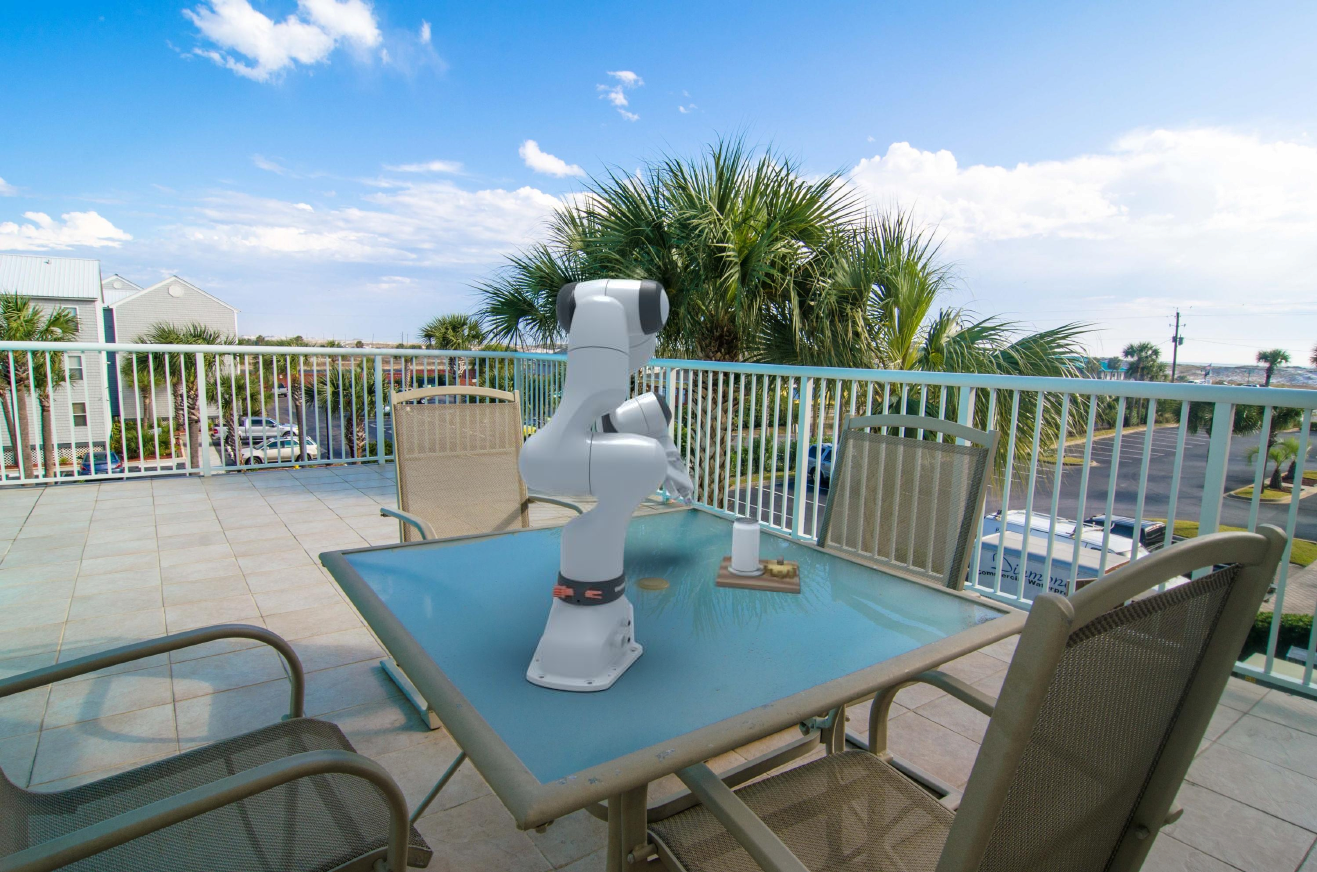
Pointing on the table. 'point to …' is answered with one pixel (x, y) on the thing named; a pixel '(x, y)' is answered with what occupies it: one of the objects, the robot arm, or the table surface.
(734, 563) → the can
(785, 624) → the table surface
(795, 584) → the board
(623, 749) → the table surface
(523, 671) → the table surface
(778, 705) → the table surface
